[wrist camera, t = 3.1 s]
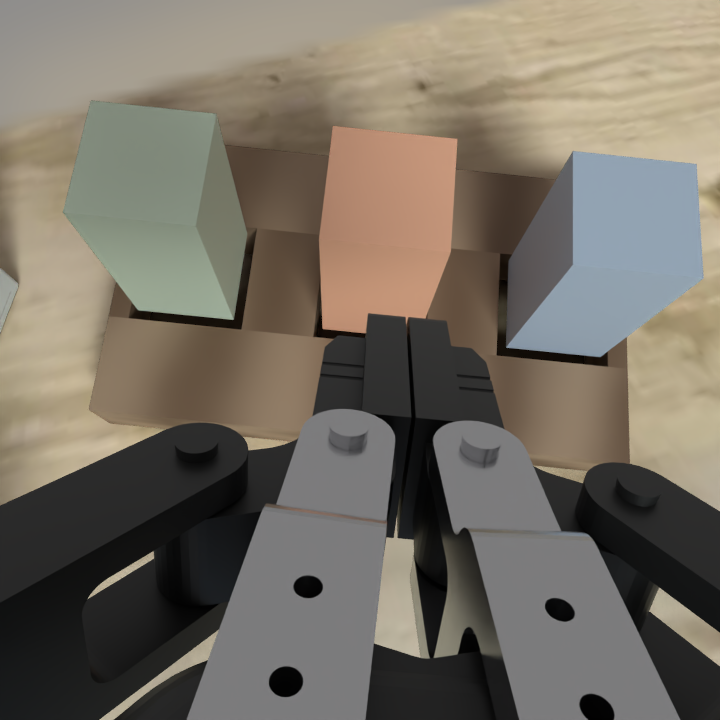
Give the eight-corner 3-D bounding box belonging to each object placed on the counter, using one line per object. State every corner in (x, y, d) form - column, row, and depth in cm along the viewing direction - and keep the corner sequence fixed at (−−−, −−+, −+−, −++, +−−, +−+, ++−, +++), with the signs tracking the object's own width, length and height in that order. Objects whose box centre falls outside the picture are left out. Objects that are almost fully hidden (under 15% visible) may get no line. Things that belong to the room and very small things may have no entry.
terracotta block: (423, 252, 32) (457, 139, 24) (417, 338, 31) (450, 252, 22) (332, 242, 32) (332, 126, 24) (322, 328, 31) (319, 238, 22)
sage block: (247, 233, 32) (216, 113, 24) (233, 319, 31) (195, 225, 22) (155, 224, 32) (90, 100, 23) (138, 310, 31) (62, 212, 22)
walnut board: (600, 216, 37) (623, 186, 34) (603, 472, 33) (629, 463, 30) (161, 170, 36) (147, 136, 34) (110, 423, 32) (88, 409, 29)
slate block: (599, 270, 32) (696, 164, 24) (600, 357, 31) (703, 278, 22) (508, 260, 32) (572, 151, 24) (505, 347, 31) (572, 264, 22)
